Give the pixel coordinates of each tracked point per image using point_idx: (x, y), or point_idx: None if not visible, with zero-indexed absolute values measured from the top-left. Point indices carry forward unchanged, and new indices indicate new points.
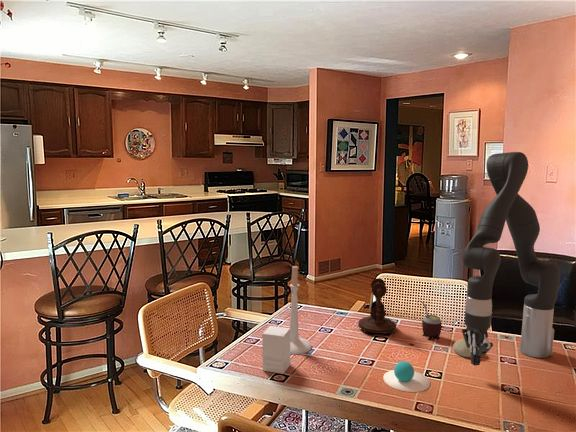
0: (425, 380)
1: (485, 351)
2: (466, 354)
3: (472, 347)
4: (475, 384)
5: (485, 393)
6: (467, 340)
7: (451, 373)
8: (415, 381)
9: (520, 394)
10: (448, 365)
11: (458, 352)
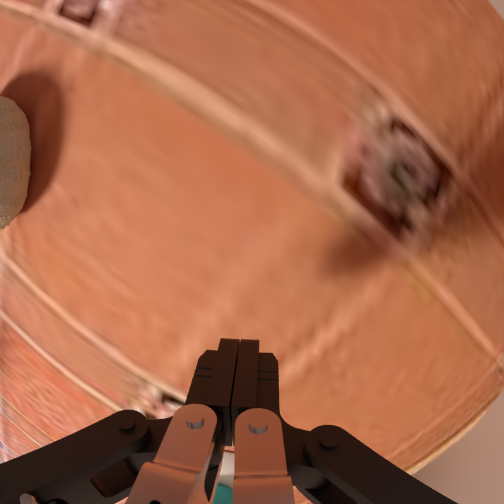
0: (230, 460)
1: (363, 467)
2: (20, 202)
3: (215, 488)
4: (306, 329)
5: (391, 331)
6: (119, 498)
7: (177, 367)
8: (231, 477)
9: (454, 169)
10: (100, 331)
11: (4, 227)
